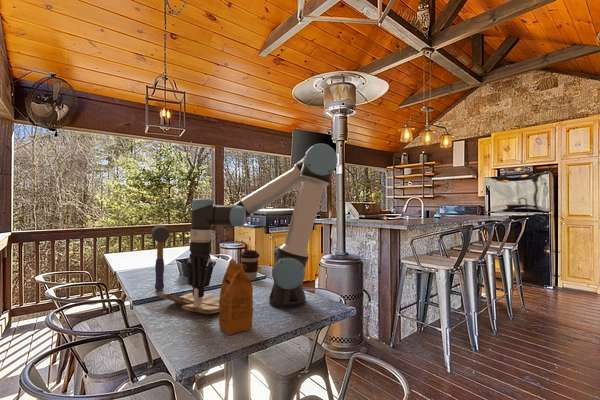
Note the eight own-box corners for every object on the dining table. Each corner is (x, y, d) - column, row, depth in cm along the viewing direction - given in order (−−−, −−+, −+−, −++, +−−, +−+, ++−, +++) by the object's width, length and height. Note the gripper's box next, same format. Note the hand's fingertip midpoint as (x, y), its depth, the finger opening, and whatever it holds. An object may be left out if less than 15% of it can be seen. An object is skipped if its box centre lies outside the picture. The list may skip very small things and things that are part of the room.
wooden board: (238, 304, 126) (238, 299, 126) (224, 311, 118) (224, 306, 118) (190, 296, 136) (190, 291, 136) (174, 302, 128) (174, 297, 128)
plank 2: (223, 311, 117) (223, 307, 117) (207, 313, 109) (208, 310, 109) (198, 306, 122) (198, 303, 122) (181, 308, 114) (182, 305, 114)
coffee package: (243, 318, 111) (244, 257, 111) (255, 331, 100) (256, 263, 100) (215, 323, 106) (216, 259, 106) (225, 337, 96) (226, 266, 96)
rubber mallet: (169, 292, 140) (170, 226, 140) (151, 294, 137) (152, 226, 137) (166, 285, 151) (167, 224, 151) (149, 287, 148) (150, 224, 148)
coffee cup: (239, 277, 170) (239, 249, 170) (257, 276, 173) (257, 249, 173) (241, 281, 160) (241, 252, 161) (260, 280, 163) (260, 252, 163)
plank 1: (196, 305, 122) (197, 302, 123) (181, 300, 115) (182, 297, 115) (173, 301, 127) (174, 298, 128) (157, 296, 120) (158, 293, 120)
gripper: (179, 240, 113) (176, 305, 112) (208, 243, 108) (205, 311, 107) (193, 238, 120) (190, 300, 119) (221, 241, 115) (218, 305, 114)
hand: (197, 305), depth 113 cm, fingers closed
